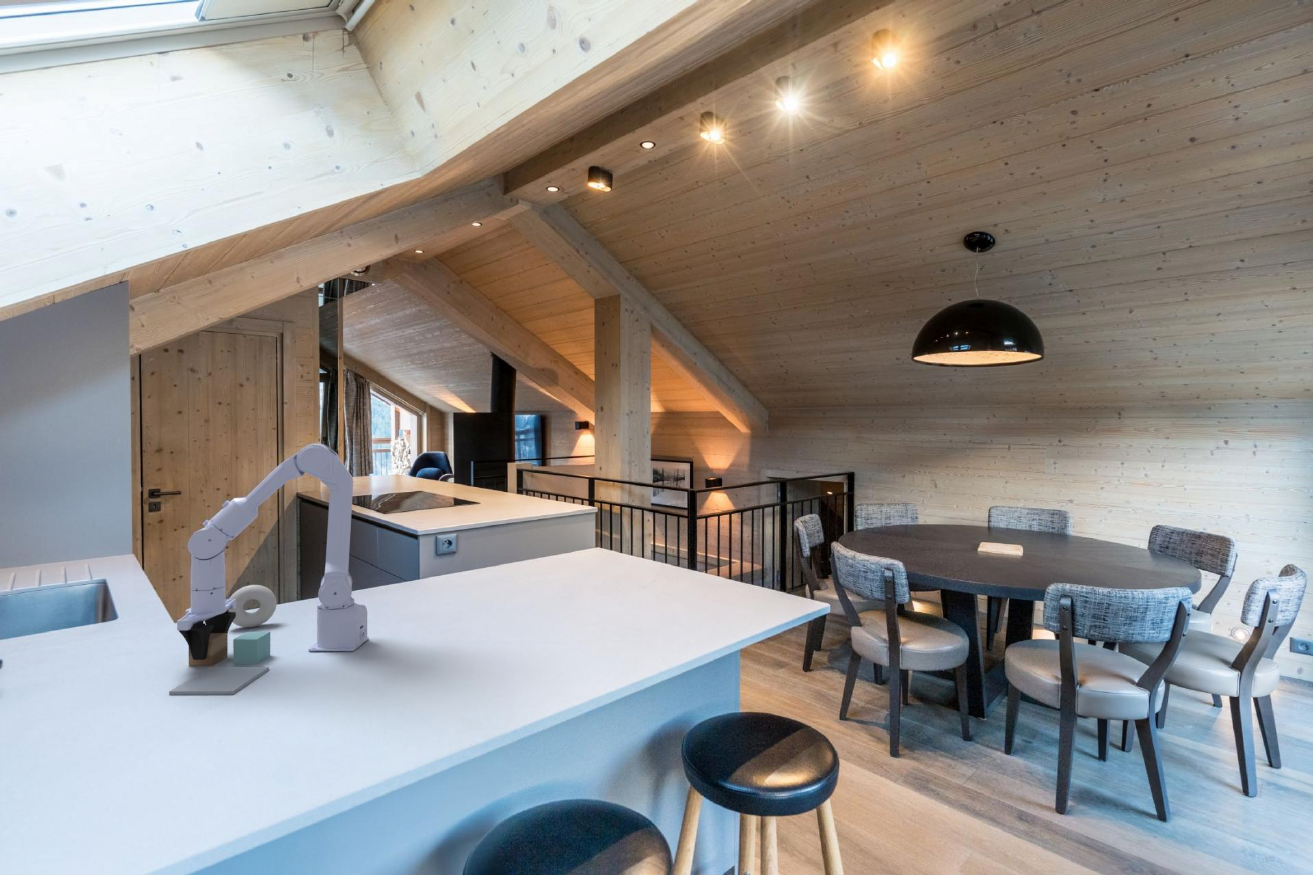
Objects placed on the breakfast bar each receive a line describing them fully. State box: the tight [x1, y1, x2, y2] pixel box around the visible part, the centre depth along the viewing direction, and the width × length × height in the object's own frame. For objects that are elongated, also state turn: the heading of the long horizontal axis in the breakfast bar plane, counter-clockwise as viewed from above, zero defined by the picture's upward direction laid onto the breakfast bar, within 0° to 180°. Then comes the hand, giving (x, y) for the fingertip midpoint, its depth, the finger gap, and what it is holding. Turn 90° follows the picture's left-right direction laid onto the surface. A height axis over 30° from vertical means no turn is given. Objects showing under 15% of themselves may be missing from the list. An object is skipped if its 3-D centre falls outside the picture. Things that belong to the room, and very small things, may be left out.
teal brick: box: [232, 631, 271, 665], centre depth 127 cm, size 5×5×5 cm
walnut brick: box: [188, 633, 229, 667], centre depth 125 cm, size 5×5×5 cm
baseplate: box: [168, 666, 270, 696], centre depth 116 cm, size 11×11×1 cm
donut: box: [229, 584, 278, 628], centre depth 146 cm, size 10×4×10 cm, turn 121°
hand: (208, 654), depth 125 cm, fingers closed on walnut brick, 5 cm apart
